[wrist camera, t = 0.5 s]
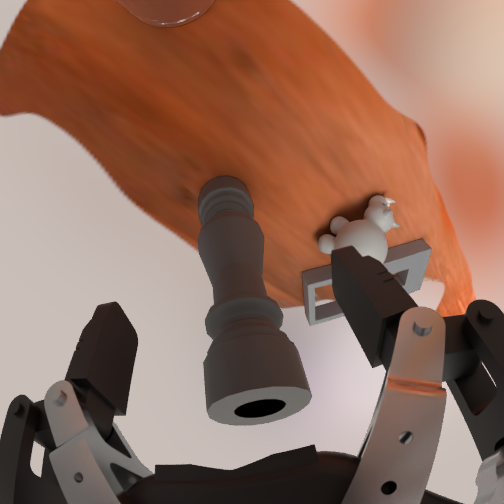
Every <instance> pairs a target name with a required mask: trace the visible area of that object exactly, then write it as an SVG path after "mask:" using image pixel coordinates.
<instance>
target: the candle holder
mask: <svg viewBox="0 0 504 504" xmlns="http://www.w3.org/2000/svg"><path fill="white" fill-rule="evenodd" d="M198 213H199V220H200V222H201V226H202V228H201V231H200V234H199V237H198V249H199V255H200V257H201V259H202V262H203V264H204V267H205V269H206V272H207V274H208V276H209V279H210V281H211V284H212V286H213V295H214V305H213V306H212V307H211V308H210V310H209V312H208V314H207V317H206V319H205V326H206V331H207V334H208V335H209V336H210V337H211V338H212V339H213V342H212V344H211V346H210V348H209V350H208V352H207V353H208V355H207V357H206V359H205V360H204V362H203V364H204V380H205V394H206V407H207V413H208V415H209V417H210V418H211V419H213V420H215V421H217V422H219V423H223V424H229V425H256V424H264V423H269V422H273V421H276V420H279V419H283V418H286V417H288V416H290V415H292V414H295V413H297V412H299V411H300V410H302V409H303V408H304V407H305V406H307V405H308V404H309V402H310V400H311V398H312V394H311V391H310V388H309V385H308V381H307V378H306V375H305V371H304V368H303V365H302V362H301V359H300V355H299V352H298V350H297V348H296V346H295V345H294V343H293V342H291V341H290V340H289V338H288V337H287V335H286V334H285V333H284V332H282V331H280V330H279V328H280V327H281V326H282V321H283V313H282V311H281V309H280V307H279V305H278V304H277V302H276V301H275V300H273V299H272V298H270V297H268V296H267V293H266V290H265V286H264V282H263V279H262V270H263V254H264V235H263V232H262V230H261V228H260V226H259V224H258V223H257V222H256V221H255V220H254V219H253V215H254V205H253V202H252V199H251V197H250V194H249V192H248V189H247V187H246V185H245V184H243V183H242V182H241V181H240V180H239V179H237V178H233V177H230V176H221V177H216V178H214V179H212V180H210V181H208V182H207V183H206V184H205V186H204V187H203V188H202V189H201V192H200V195H199V201H198Z"/></svg>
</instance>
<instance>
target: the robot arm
mask: <svg viewBox="0 0 504 504" xmlns="http://www.w3.org/2000/svg"><path fill="white" fill-rule="evenodd" d="M115 1H116V2H117V3H119V4H120V5H121V6H123V7H124V8H125V9H127V10H128V11H129V12H130V13H132V14H133V15H134V16H136V17H137V18H138V19H139V20H141V21H143V22H144V23H146V24H149V25H152V26H156V27H175V26H180V25H183V24H186V23H189V22H191V21H193V20H195V19H197V18H199V17H200V16H201V15H203V14H204V13H205V12H206V11H207V10H208V9H209V8H210V7H211V6H212V4H213V3H214V1H215V0H115ZM331 267H332V287H333V292H334V296H335V298H336V301H337V303H338V304H339V306H340V308H341V310H342V312H343V313H344V315H345V317H346V319H347V321H348V322H349V324H350V326H351V328H352V330H353V332H354V334H355V336H356V337H357V339H358V341H359V343H360V345H361V347H362V349H363V351H364V352H365V355H366V356H367V358H368V360H369V362H370V364H371V366H372V368H374V367H377V366H379V365H382V364H383V366H384V368H385V370H386V374H385V377H384V381H383V384H382V388H381V392H380V395H379V398H378V401H377V405H376V408H375V411H374V414H373V417H372V420H371V423H370V425H369V428H368V430H367V433H366V435H365V438H364V441H363V443H362V446H361V448H360V451H359V453H358V455H357V457H356V456H354V455H349V454H346V453H340V452H329V451H320V452H316V448H315V445H310V446H306V447H302V448H298V449H295V450H290V451H286V452H281V453H276V454H273V455H270V456H268V457H265V458H263V459H260V460H258V461H256V462H253V463H251V464H248V465H246V466H243V467H240V468H237V469H234V470H223V469H215V468H209V467H203V466H197V465H192V464H186V465H155V474H153V473H152V472H151V471H150V470H149V469H148V468H147V467H145V466H144V465H143V464H142V463H141V462H140V461H139V459H138V458H137V456H136V455H135V453H134V452H133V450H132V449H131V447H130V446H129V444H128V443H127V441H126V440H125V438H124V436H123V435H122V433H121V431H120V430H119V428H118V426H117V425H116V424H115V423H114V422H113V418H114V416H116V415H117V416H119V415H121V416H123V415H126V409H127V402H128V396H129V390H130V384H131V378H132V373H133V367H134V362H135V357H136V352H137V347H138V337H137V333H136V331H135V329H134V327H133V326H132V324H131V323H130V321H129V319H128V318H127V316H126V315H125V313H124V311H123V310H122V308H121V306H120V305H119V304H118V303H117V302H110V303H106V304H101V305H98V306H97V308H96V310H95V312H94V315H93V317H92V319H91V320H90V321H89V323H88V324H87V325H86V326H85V328H84V329H83V331H82V333H81V336H80V338H79V342H78V344H77V346H76V351H74V354H73V357H72V360H71V362H70V365H69V368H68V372H67V374H66V377H65V380H63V381H58V382H56V383H55V384H53V385H52V386H51V387H50V388H49V390H48V391H47V393H46V395H45V399H44V400H41V401H38V402H36V403H33V402H32V401H31V400H30V399H29V398H28V397H27V396H25V395H19V396H17V397H16V398H14V400H13V401H12V402H11V404H10V406H9V408H8V411H7V415H6V419H5V422H4V427H3V430H2V434H1V439H0V504H463V503H460V502H457V501H454V500H451V499H449V498H446V497H443V496H441V495H438V494H436V493H433V492H431V491H428V490H426V489H425V488H426V485H427V482H428V479H429V476H430V473H431V469H432V465H433V462H434V459H435V455H436V451H437V446H438V442H439V438H440V433H441V428H442V423H443V418H444V412H445V405H446V396H447V394H446V389H445V388H442V382H444V381H446V383H447V385H448V387H449V389H450V390H451V392H452V394H453V396H454V398H455V400H456V402H457V404H458V406H459V408H460V411H461V412H462V414H463V417H464V419H465V421H466V423H467V425H468V428H469V430H470V432H471V434H472V437H473V439H474V441H475V444H476V446H477V449H478V451H479V454H480V456H481V459H482V461H483V462H482V464H481V466H480V468H479V470H478V474H477V477H476V485H477V486H478V494H477V497H476V500H475V502H474V504H504V314H503V312H502V311H501V310H500V309H499V308H498V307H497V306H496V305H495V304H494V303H492V302H490V301H487V300H475V301H473V302H471V303H470V304H469V306H468V308H467V310H466V313H465V314H464V315H457V316H449V317H442V316H441V315H440V314H439V313H438V312H436V311H435V310H433V309H431V308H427V307H419V306H418V305H417V304H416V303H415V302H414V300H413V299H412V298H411V297H410V295H409V294H408V293H407V292H406V291H405V289H404V288H403V287H402V286H401V285H400V283H399V282H398V281H397V280H396V279H394V276H393V275H392V274H391V273H390V272H388V270H387V268H386V267H385V266H384V265H383V264H382V263H381V262H380V261H379V260H377V259H375V258H373V257H371V256H369V255H367V256H363V257H362V255H361V254H360V253H359V252H358V251H357V250H356V248H355V247H354V246H352V245H350V246H346V247H343V248H339V249H335V250H332V252H331ZM482 362H483V364H484V365H485V367H486V368H487V370H488V372H489V373H490V375H491V377H492V378H493V380H494V382H495V384H496V386H495V385H494V383H493V381H492V379H491V378H490V376H489V374H488V373H487V371H486V369H485V368H484V366H483V365H482ZM34 441H35V442H37V443H38V444H40V445H41V446H43V447H44V448H45V452H44V458H43V466H42V475H41V478H40V477H38V476H37V475H35V474H34V473H33V471H32V470H31V467H30V460H31V453H32V447H33V442H34Z"/></svg>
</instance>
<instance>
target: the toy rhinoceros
mask: <svg viewBox="0 0 504 504" xmlns="http://www.w3.org/2000/svg"><path fill="white" fill-rule="evenodd" d="M392 202H395V201H394V200H393V199H391V198H384V197H383V196H379V195H377V196H373V197H372V198H371V199H370V201H369V207H368V208H367V209H366V211H365V213H364V219H363V220H355V221H352V222H349V221H348V220H347V219H345V218H343V217H340V216H338V217H335V218H333V219H332V221H331V224H330V230H331V232H332V233H333V234H335V235H337V236H336V237H334V236H332V235H329V234H324V235H322V236H321V237H320V238H319V241H318V248H319V250H320V251H321V252H323V253H325V254H331V252H332V250H335V249H339V248H343V247H346V246H350V245H352V246H354V247H355V248H356V250H357V251H358V252H359V253H360V254H361V255H362V257H363V256H367V255H369V256H371V257H373V258H375V259H377V260H379V261H380V262H381V263H382V264H383V263H384V261H385V259H386V256H387V251H388V244H387V240H386V237H385V235H384V233H385V232H387V231H388V230H389V229H390V228H392V227H394V228H399V227H400V225H399V224H398V223H396V222H395V221H394V217H393V214H392V212H393V211H392V210H390V208H389V206H390V204H389V203H392Z"/></svg>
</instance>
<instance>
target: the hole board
mask: <svg viewBox="0 0 504 504" xmlns="http://www.w3.org/2000/svg"><path fill="white" fill-rule="evenodd" d="M431 249H432V248H431V247H430V246H429V245H428V244H427V243H426V242H425V241H424V240H423V239H419V240H416V241H413V242H409V243H406V244H402V245H399V246H396V247H392V248H389V249H388V251H387V256H386V259H385V261H384V263H383V265H384V266H385V267H386V268H387V270H388V272H390V273H391V274H394V273H397V272H398V273H397V275H394V279H396V280H397V281H398V282H399V283H400V285H401V286H402V287H403V288H404V289H405V291H406V292H407V293H408V294H409V293H412V292H414V291H417V290H420V288H421V285H422V282H423V278H424V275H425V272H426V268H427V265H428V261H429V257H430V253H431ZM302 279H303V292H304V305H305V314H306V317H307V320H308V322H309V325H310V326H311V325H315V324H319V323H322V322H326V321H329V320H332V319H336V318H339V317H342V316H345V315H344V313H343V312H342V310H341V308H340V306H339V304H338V303H337V301H334V302H330V303H327V304H323V305H320V306H317V307H315V289H314V288H317V287H321V286H325V285H328V284H332V267H331V265H327V266H323V267H319V268H315V269H312V270H308V271H304V272H302Z"/></svg>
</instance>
